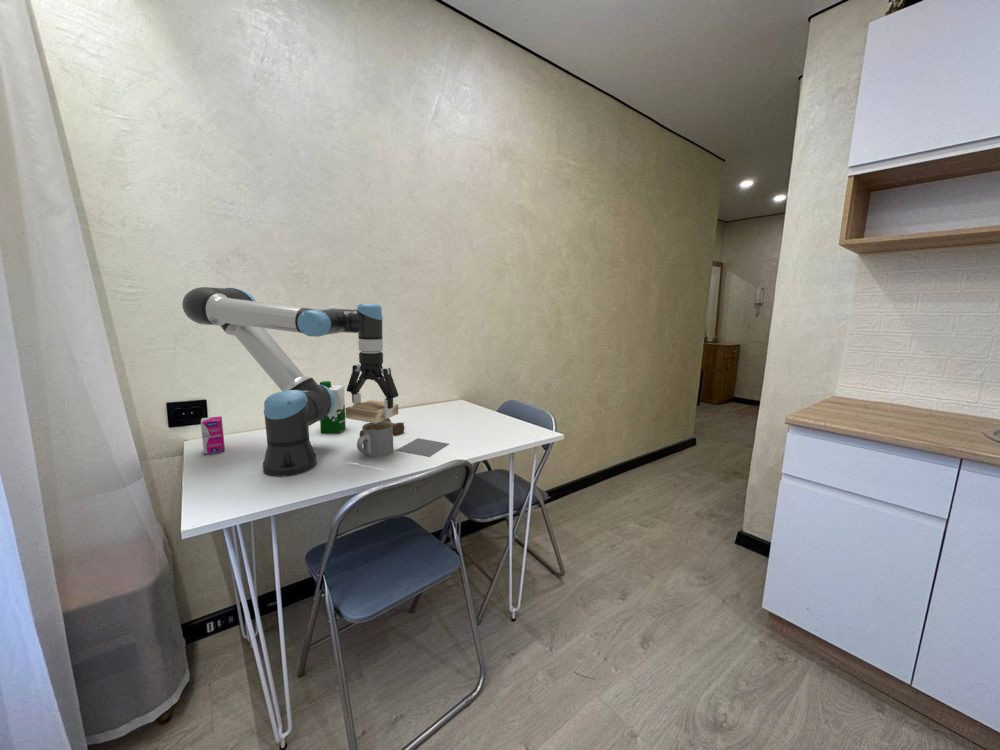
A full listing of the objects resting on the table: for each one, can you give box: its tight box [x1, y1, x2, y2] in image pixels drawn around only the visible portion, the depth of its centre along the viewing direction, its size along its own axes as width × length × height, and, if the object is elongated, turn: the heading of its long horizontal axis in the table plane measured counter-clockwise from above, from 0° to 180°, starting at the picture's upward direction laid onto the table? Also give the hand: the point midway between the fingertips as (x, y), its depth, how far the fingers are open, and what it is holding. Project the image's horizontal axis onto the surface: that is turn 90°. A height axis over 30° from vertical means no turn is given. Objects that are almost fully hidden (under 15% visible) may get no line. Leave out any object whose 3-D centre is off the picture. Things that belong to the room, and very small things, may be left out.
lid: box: [345, 399, 399, 423], centre depth 134 cm, size 12×12×4 cm
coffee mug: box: [356, 422, 394, 458], centre depth 136 cm, size 13×10×10 cm
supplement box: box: [200, 416, 226, 456], centre depth 136 cm, size 6×6×12 cm
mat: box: [395, 437, 450, 458], centre depth 143 cm, size 14×14×1 cm
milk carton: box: [319, 380, 347, 435], centre depth 158 cm, size 9×9×20 cm
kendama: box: [359, 418, 405, 437], centre depth 155 cm, size 6×10×20 cm
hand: (372, 415), depth 134 cm, fingers closed on lid, 12 cm apart
